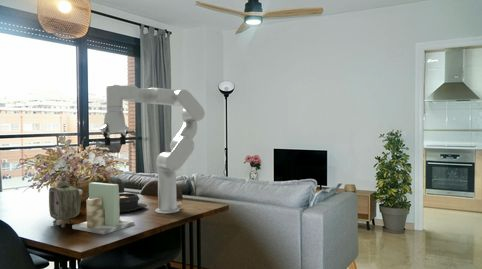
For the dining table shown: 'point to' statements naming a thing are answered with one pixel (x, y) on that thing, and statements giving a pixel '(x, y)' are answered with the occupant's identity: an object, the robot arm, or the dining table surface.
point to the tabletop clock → (64, 201)
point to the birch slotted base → (103, 227)
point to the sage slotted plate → (107, 200)
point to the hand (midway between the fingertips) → (115, 145)
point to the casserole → (129, 202)
